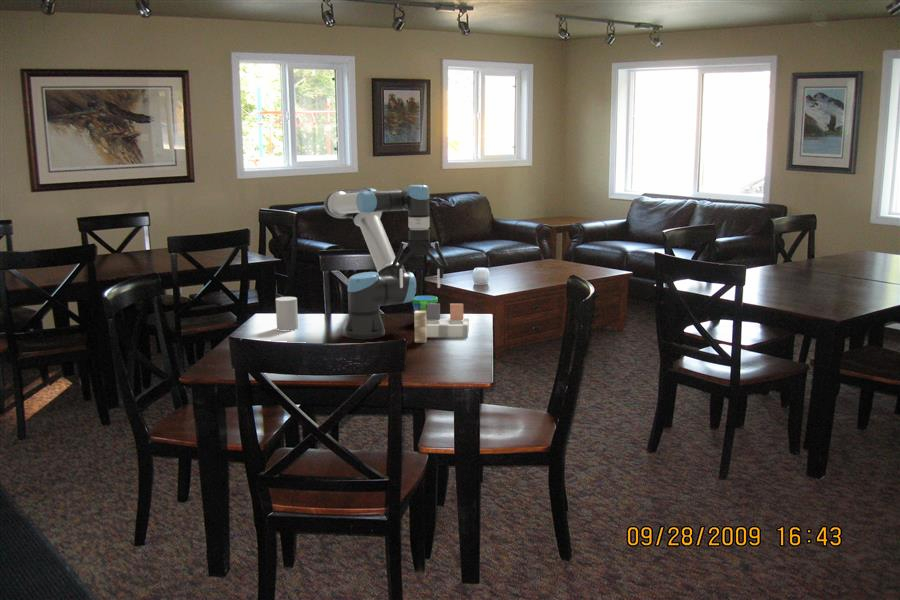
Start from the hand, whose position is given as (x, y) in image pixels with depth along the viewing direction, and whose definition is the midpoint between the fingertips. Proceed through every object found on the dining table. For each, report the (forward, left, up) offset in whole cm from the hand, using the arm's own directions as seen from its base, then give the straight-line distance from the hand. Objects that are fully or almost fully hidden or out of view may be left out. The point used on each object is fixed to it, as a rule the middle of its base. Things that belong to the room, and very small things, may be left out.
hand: (420, 287), depth 304 cm
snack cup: (-1, +31, -20) cm, 37 cm away
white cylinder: (-54, +19, -20) cm, 61 cm away
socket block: (+8, +12, -20) cm, 25 cm away
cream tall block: (0, 0, -20) cm, 20 cm away
